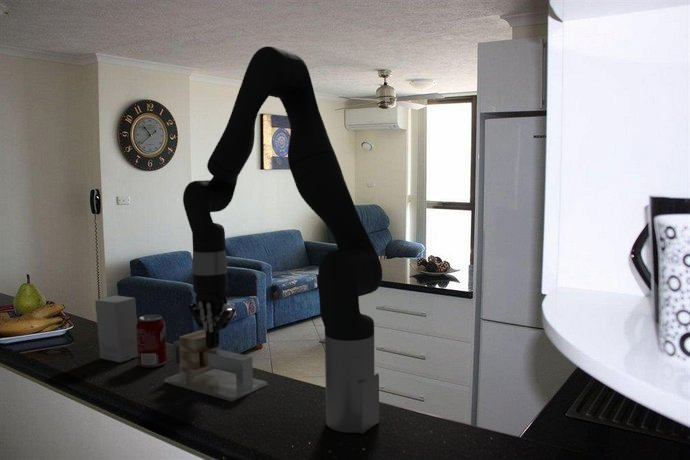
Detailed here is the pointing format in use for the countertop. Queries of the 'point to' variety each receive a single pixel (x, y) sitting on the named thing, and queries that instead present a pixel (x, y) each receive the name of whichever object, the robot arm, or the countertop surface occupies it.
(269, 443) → the countertop surface
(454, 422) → the countertop surface
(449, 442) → the countertop surface
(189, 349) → the tan notched block
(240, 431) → the countertop surface
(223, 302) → the robot arm
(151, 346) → the soda can
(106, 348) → the skincare box
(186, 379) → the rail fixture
